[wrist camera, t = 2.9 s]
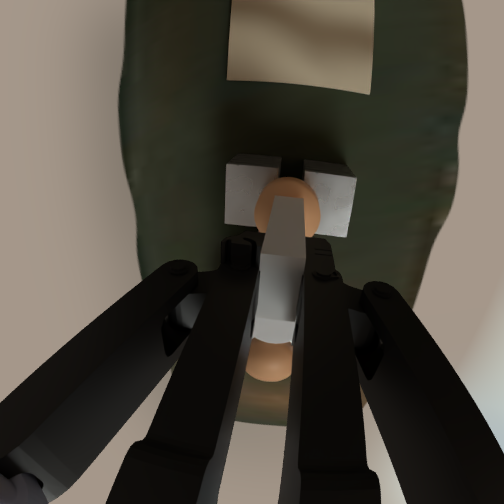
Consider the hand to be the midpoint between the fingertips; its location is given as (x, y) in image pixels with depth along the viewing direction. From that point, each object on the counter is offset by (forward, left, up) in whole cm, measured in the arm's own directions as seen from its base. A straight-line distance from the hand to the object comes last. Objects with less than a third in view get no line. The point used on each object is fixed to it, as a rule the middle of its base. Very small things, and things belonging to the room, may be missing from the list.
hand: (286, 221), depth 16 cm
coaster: (-13, 0, -7) cm, 14 cm away
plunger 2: (+11, 0, -4) cm, 12 cm away
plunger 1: (0, 0, -5) cm, 5 cm away
